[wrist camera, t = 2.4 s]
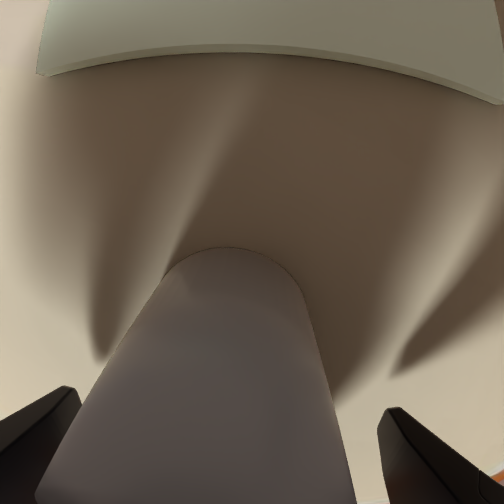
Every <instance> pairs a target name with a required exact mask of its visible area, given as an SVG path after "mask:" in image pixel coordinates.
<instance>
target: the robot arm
mask: <svg viewBox="0 0 504 504" xmlns="http://www.w3.org/2000/svg"><path fill="white" fill-rule="evenodd" d="M81 406H82V403H81V400H80V398H79V395H78V393H77V391H76V389H75V388H72V387H69V386H61V387H59V388H57V389H56V390H54V391H52V392H50V393H49V394H47V395H45V396H44V397H42V398H40V399H38V400H36V401H35V402H33V403H31V404H29V405H28V406H26V407H24V408H22V409H21V410H19V411H17V412H15V413H14V414H12V415H10V416H8V417H6V418H5V419H3V420H1V421H0V504H38V503H37V501H36V499H35V492H36V489H37V487H38V485H39V483H40V481H41V479H42V477H43V475H44V473H45V471H46V470H47V468H48V466H49V464H50V462H51V460H52V458H53V456H54V454H55V453H56V451H57V449H58V447H59V445H60V443H61V442H62V440H63V438H64V436H65V434H66V433H67V431H68V429H69V427H70V425H71V424H72V422H73V420H74V418H75V417H76V415H77V413H78V411H79V410H80V408H81ZM377 435H378V442H379V449H380V456H381V463H382V471H383V476H384V481H385V485H386V489H387V493H388V497H389V501H390V504H504V486H502V485H501V484H499V483H498V482H496V481H495V480H493V479H492V478H491V477H489V476H488V475H486V474H485V473H484V472H482V471H481V470H479V469H478V468H477V467H476V466H474V465H473V464H472V463H471V462H469V461H468V460H467V459H465V458H464V457H463V456H461V455H460V454H459V453H458V452H456V451H455V450H454V449H452V448H451V447H450V446H449V445H447V444H446V443H445V442H443V441H442V440H441V439H440V438H438V437H437V436H436V435H435V434H433V433H432V432H431V431H430V430H428V429H427V428H426V427H424V426H423V425H422V424H421V423H419V422H418V421H417V420H416V419H414V418H413V417H412V416H411V415H409V414H408V413H407V412H406V411H404V410H403V409H402V408H400V407H392V408H387V409H386V410H385V412H384V414H383V416H382V418H381V420H380V423H379V425H378V428H377Z"/></svg>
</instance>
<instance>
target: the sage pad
mask: <svg viewBox="0 0 504 504" xmlns="http://www.w3.org/2000/svg"><path fill="white" fill-rule="evenodd" d="M212 52H248V53H272V54H286V55H298V56H307V57H316V58H324V59H331V60H338V61H344V62H350V63H356V64H361V65H366V66H371V67H376V68H381V69H385V70H389V71H394V72H398V73H402V74H406V75H409V76H413V77H417V78H420V79H424V80H427V81H431V82H434V83H437V84H440V85H443V86H446V87H449V88H452V89H455V90H458V91H461V92H464V93H466V94H469V95H472V96H474V97H477V98H479V99H482V100H484V101H487V102H489V103H491V104H494V105H501V104H504V49H503V42H502V36H501V30H500V25H499V20H498V15H497V11H496V6H495V2H494V0H50V2H49V6H48V10H47V14H46V18H45V23H44V27H43V32H42V37H41V43H40V48H39V54H38V60H37V67H36V74H40V75H44V76H48V77H49V76H53V75H56V74H60V73H64V72H68V71H72V70H76V69H81V68H85V67H90V66H95V65H100V64H105V63H111V62H117V61H123V60H129V59H136V58H144V57H153V56H162V55H174V54H188V53H212Z"/></svg>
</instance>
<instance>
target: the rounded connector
mask: <svg viewBox="0 0 504 504" xmlns="http://www.w3.org/2000/svg"><path fill="white" fill-rule="evenodd" d="M35 499H36V501H37V503H38V504H357V501H356V497H355V492H354V488H353V483H352V479H351V474H350V470H349V466H348V462H347V457H346V453H345V449H344V445H343V441H342V437H341V433H340V429H339V425H338V421H337V417H336V413H335V409H334V405H333V401H332V397H331V393H330V389H329V386H328V382H327V378H326V374H325V371H324V367H323V363H322V360H321V356H320V352H319V349H318V345H317V341H316V338H315V334H314V331H313V327H312V324H311V320H310V317H309V313H308V310H307V306H306V303H305V300H304V297H303V294H302V292H301V290H300V288H299V286H298V285H297V283H296V282H295V280H294V279H293V278H292V277H291V275H290V274H289V273H288V272H287V271H286V270H285V269H283V268H282V267H281V266H280V265H278V264H277V263H276V262H274V261H273V260H271V259H269V258H267V257H265V256H263V255H261V254H258V253H255V252H253V251H249V250H244V249H239V248H214V249H207V250H204V251H200V252H197V253H195V254H192V255H190V256H188V257H186V258H185V259H183V260H181V261H180V262H178V263H177V264H176V265H175V266H174V267H172V268H171V269H170V271H169V272H168V273H167V274H166V275H165V277H164V278H163V279H162V281H161V282H160V284H159V285H158V287H157V288H156V290H155V291H154V293H153V294H152V296H151V297H150V298H149V300H148V301H147V303H146V304H145V306H144V307H143V309H142V310H141V312H140V313H139V315H138V316H137V318H136V319H135V321H134V323H133V324H132V326H131V327H130V329H129V330H128V332H127V333H126V335H125V336H124V338H123V339H122V341H121V343H120V344H119V346H118V347H117V349H116V350H115V352H114V354H113V355H112V357H111V358H110V360H109V362H108V363H107V365H106V366H105V368H104V370H103V371H102V373H101V375H100V376H99V378H98V379H97V381H96V383H95V384H94V386H93V388H92V389H91V391H90V393H89V394H88V396H87V398H86V400H85V401H84V403H83V405H82V406H81V408H80V410H79V411H78V413H77V415H76V417H75V418H74V420H73V422H72V424H71V425H70V427H69V429H68V431H67V433H66V434H65V436H64V438H63V440H62V442H61V443H60V445H59V447H58V449H57V451H56V453H55V454H54V456H53V458H52V460H51V462H50V464H49V466H48V468H47V470H46V471H45V473H44V475H43V477H42V479H41V481H40V483H39V485H38V487H37V489H36V492H35Z"/></svg>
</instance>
